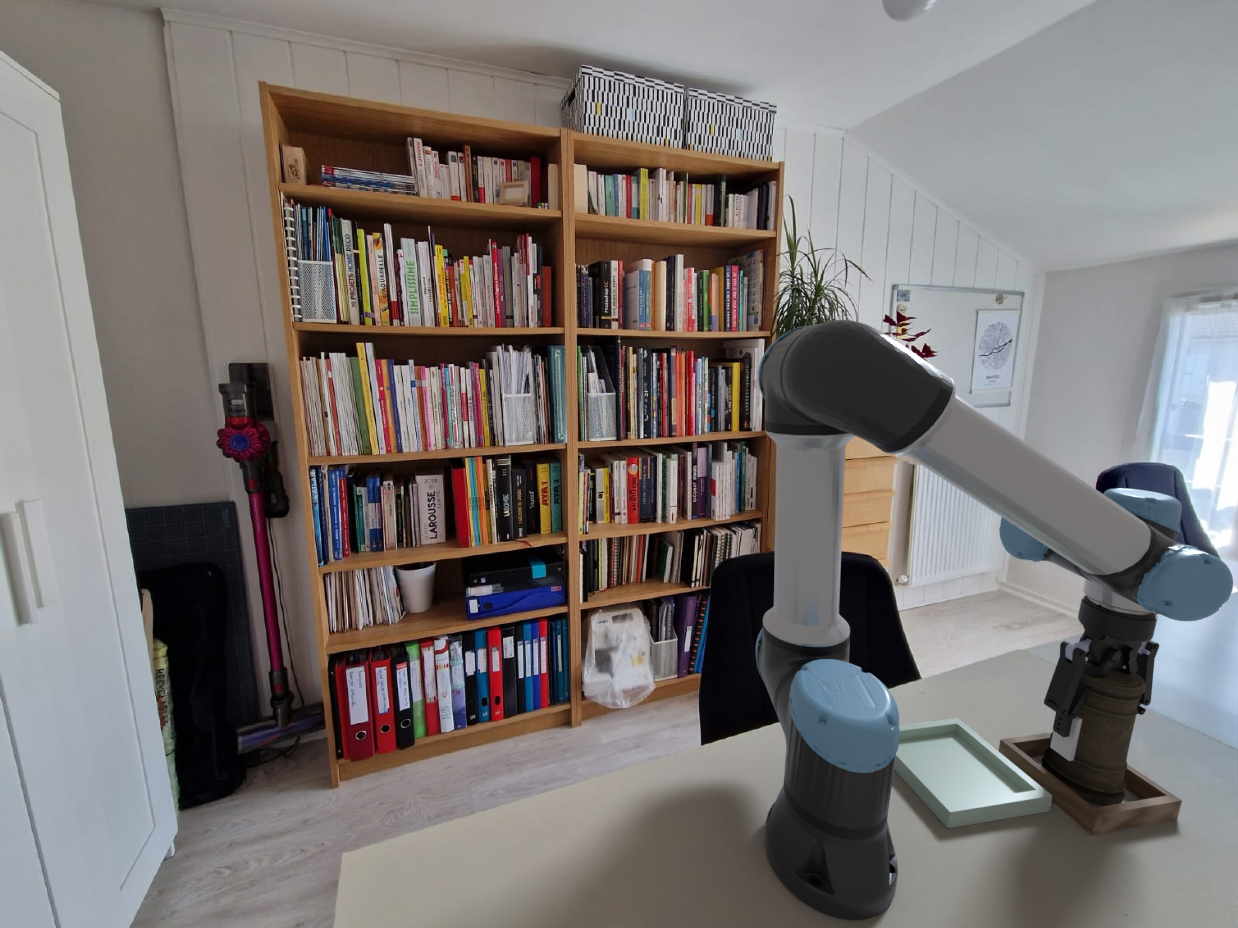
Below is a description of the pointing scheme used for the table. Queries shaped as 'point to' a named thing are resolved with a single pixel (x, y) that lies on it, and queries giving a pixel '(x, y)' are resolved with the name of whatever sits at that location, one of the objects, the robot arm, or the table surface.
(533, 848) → the table surface
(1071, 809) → the wooden picture frame
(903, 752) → the tray
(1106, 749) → the container
